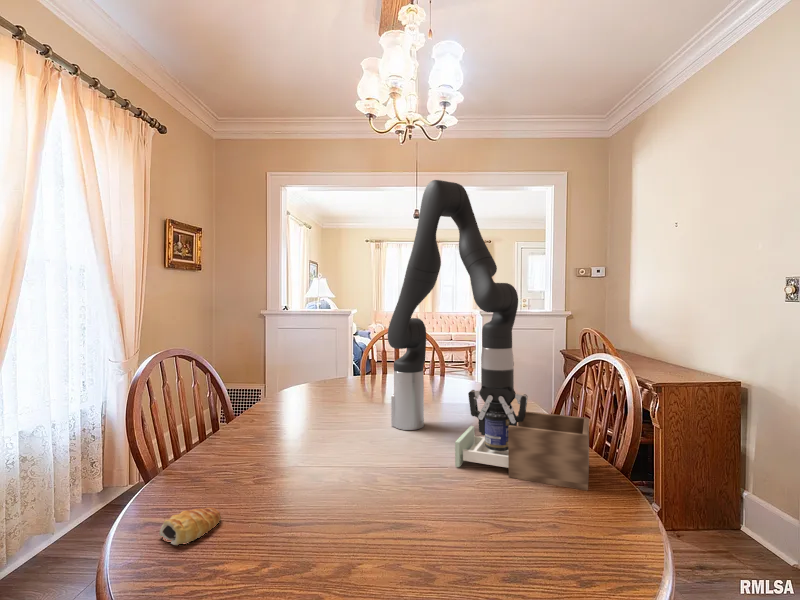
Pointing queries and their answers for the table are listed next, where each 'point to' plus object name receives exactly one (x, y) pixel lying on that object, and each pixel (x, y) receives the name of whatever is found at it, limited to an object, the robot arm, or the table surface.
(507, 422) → the pill bottle
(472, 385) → the table surface
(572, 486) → the caddy
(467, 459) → the drawer
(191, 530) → the pastry
